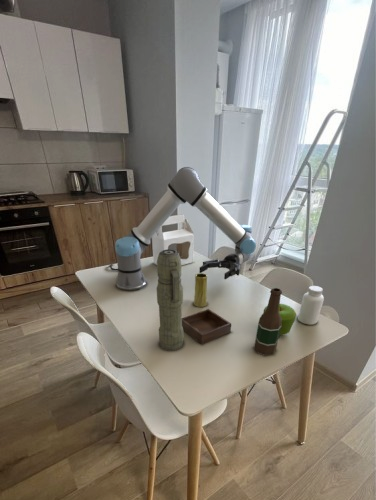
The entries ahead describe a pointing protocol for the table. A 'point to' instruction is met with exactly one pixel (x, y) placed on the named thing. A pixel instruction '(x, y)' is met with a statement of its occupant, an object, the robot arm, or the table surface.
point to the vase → (200, 290)
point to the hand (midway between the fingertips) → (212, 273)
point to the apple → (286, 317)
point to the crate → (205, 326)
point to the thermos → (170, 299)
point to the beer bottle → (269, 325)
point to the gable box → (175, 240)
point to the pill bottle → (311, 305)
